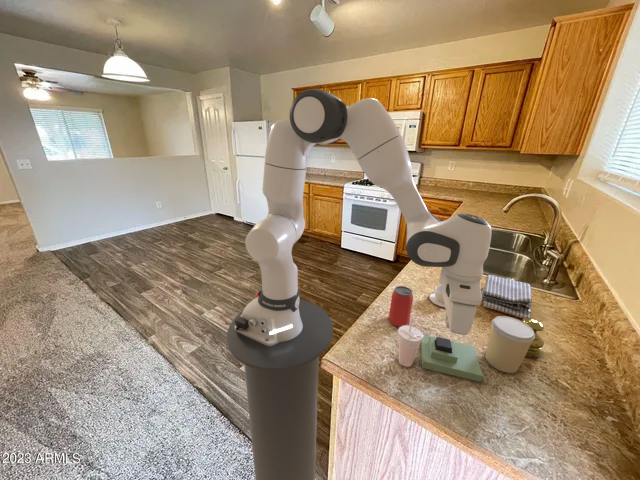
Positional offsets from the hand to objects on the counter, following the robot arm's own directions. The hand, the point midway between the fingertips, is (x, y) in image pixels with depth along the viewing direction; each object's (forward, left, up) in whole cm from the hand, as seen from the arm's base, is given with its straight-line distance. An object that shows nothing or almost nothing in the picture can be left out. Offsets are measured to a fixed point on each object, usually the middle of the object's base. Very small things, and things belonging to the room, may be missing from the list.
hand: (449, 325), depth 70 cm
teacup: (+4, +31, -11) cm, 33 cm away
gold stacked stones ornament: (+24, +12, -11) cm, 29 cm away
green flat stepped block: (+2, 0, -11) cm, 11 cm away
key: (0, 0, -7) cm, 7 cm away
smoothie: (-10, -5, -11) cm, 15 cm away
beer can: (-12, +13, -11) cm, 21 cm away
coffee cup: (+16, +4, -11) cm, 20 cm away
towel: (+26, +38, -11) cm, 47 cm away
